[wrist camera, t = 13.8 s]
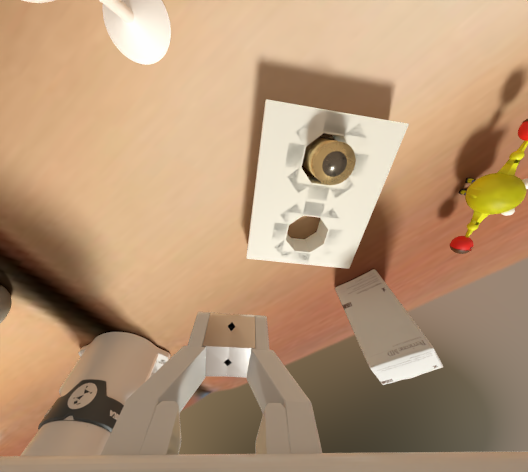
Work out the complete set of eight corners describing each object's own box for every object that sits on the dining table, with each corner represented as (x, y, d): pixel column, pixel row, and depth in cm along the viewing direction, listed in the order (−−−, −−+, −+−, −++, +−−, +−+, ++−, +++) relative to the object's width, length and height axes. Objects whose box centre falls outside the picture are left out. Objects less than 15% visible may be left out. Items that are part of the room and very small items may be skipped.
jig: (340, 254, 36) (349, 268, 32) (247, 244, 34) (246, 258, 31) (388, 124, 26) (408, 123, 23) (264, 103, 25) (266, 99, 21)
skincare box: (373, 267, 37) (437, 344, 24) (384, 288, 40) (448, 368, 26) (331, 288, 39) (369, 369, 26) (344, 306, 42) (385, 389, 28)
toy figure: (451, 240, 35) (492, 263, 29) (421, 237, 34) (455, 261, 28) (524, 118, 26) (602, 115, 20) (484, 113, 26) (552, 109, 20)
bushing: (328, 174, 29) (347, 187, 23) (298, 170, 29) (309, 182, 22) (337, 140, 27) (361, 144, 21) (305, 135, 27) (319, 138, 20)
